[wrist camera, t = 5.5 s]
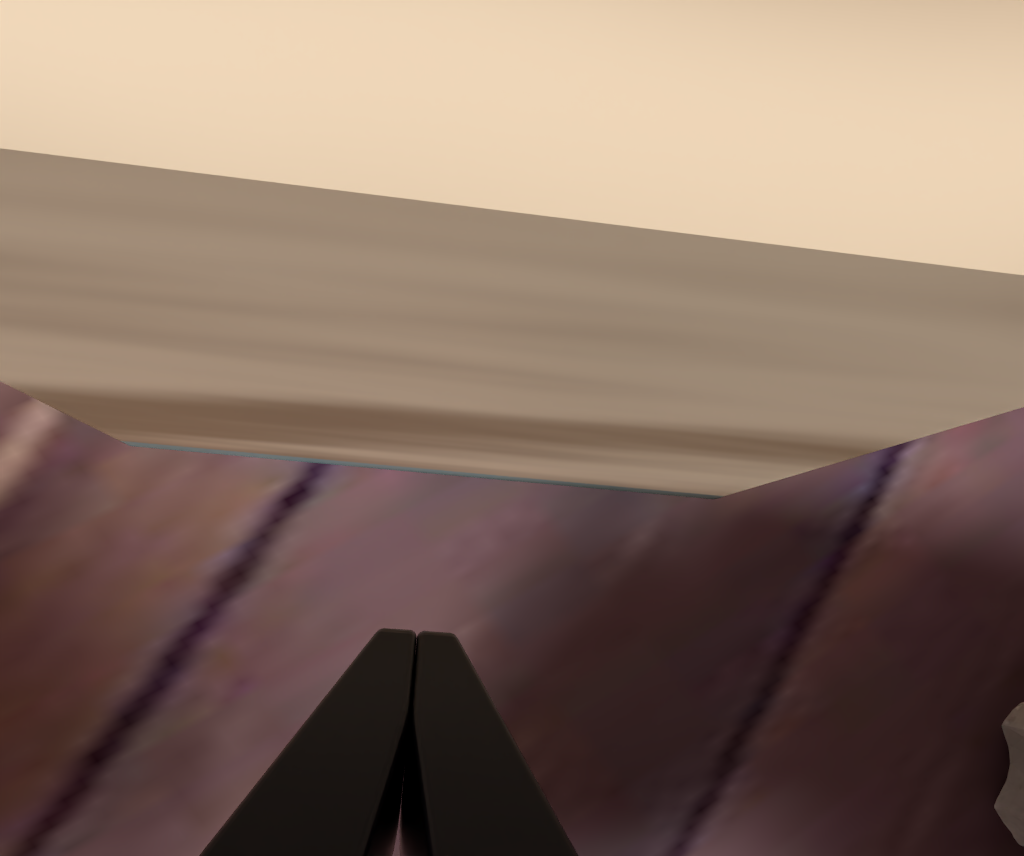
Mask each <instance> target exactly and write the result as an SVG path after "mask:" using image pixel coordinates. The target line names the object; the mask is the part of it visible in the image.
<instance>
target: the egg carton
mask: <svg viewBox="0 0 1024 856" xmlns="http://www.w3.org/2000/svg"><path fill="white" fill-rule="evenodd" d="M1001 727H1002V730H1003V733H1004V736H1005V739H1006V741H1007V744H1008V748H1009V756H1010V766H1009V771H1008V776H1007V780H1006V782H1005V784H1004V786H1003V788H1002V790H1001V792H1000V794H999V796H998V798H997V800H996V803H995V805H994V808H995V810H996V811H997V813H998V815H999V816H1000V818H1001V819H1002V821H1003V823H1004V824H1005V825H1006V826H1007V828H1008V829H1009V830H1010V831H1011V833H1012V835H1013V837H1014V839H1015V840H1016V841H1017V843H1018V844H1019V845H1021V846H1024V702H1022V703H1021V704H1019V705H1017V707H1016V708H1014V709H1013V710H1012V711H1011V712H1010V714H1009V715H1008V716H1007V718H1006V719H1005V720H1004V722H1003V724H1002V726H1001Z"/></svg>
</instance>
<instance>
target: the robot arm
mask: <svg viewBox="0 0 1024 856" xmlns="http://www.w3.org/2000/svg"><path fill="white" fill-rule="evenodd" d="M416 639H417V643H416ZM415 650H416V653H415ZM414 662H415V663H414ZM404 767H405V769H404ZM403 777H404V780H403ZM402 787H403V791H402ZM401 797H402V801H401ZM400 807H401V816H400V856H578V855H577V853H576V851H575V849H574V847H573V846H572V844H571V842H570V840H569V838H568V836H567V835H566V833H565V831H564V829H563V827H562V826H561V824H560V822H559V820H558V818H557V817H556V815H555V813H554V811H553V809H552V808H551V806H550V804H549V802H548V800H547V799H546V797H545V795H544V793H543V791H542V790H541V788H540V786H539V784H538V782H537V781H536V779H535V777H534V775H533V773H532V772H531V770H530V768H529V766H528V764H527V762H526V761H525V759H524V757H523V755H522V753H521V752H520V750H519V748H518V746H517V744H516V743H515V741H514V739H513V737H512V735H511V734H510V732H509V730H508V728H507V726H506V725H505V723H504V721H503V719H502V717H501V716H500V714H499V712H498V710H497V708H496V707H495V705H494V703H493V701H492V699H491V698H490V696H489V694H488V692H487V690H486V688H485V687H484V685H483V683H482V681H481V679H480V678H479V676H478V674H477V672H476V670H475V669H474V667H473V665H472V663H471V661H470V660H469V658H468V656H467V654H466V652H465V651H464V649H463V647H462V645H461V643H460V642H459V640H458V638H457V637H456V636H455V635H454V634H452V633H443V632H430V631H422V632H420V633H419V634H418V636H417V637H416V634H415V632H414V631H412V630H402V629H386V628H383V629H380V630H378V631H377V632H376V633H375V634H374V636H373V637H372V638H371V640H370V641H369V642H368V643H367V645H366V646H365V647H364V648H363V650H362V651H361V652H360V653H359V655H358V656H357V657H356V658H355V660H354V661H353V662H352V664H351V665H350V666H349V667H348V669H347V670H346V671H345V672H344V674H343V675H342V676H341V677H340V679H339V680H338V681H337V682H336V684H335V685H334V686H333V688H332V689H331V690H330V691H329V693H328V694H327V695H326V696H325V698H324V699H323V700H322V701H321V703H320V704H319V705H318V706H317V708H316V709H315V710H314V712H313V713H312V714H311V715H310V717H309V718H308V719H307V720H306V722H305V723H304V724H303V725H302V727H301V728H300V729H299V730H298V732H297V733H296V734H295V735H294V737H293V738H292V739H291V741H290V742H289V743H288V744H287V746H286V747H285V748H284V749H283V751H282V752H281V753H280V754H279V756H278V757H277V758H276V759H275V761H274V762H273V763H272V765H271V766H270V767H269V768H268V770H267V771H266V772H265V773H264V775H263V776H262V777H261V778H260V780H259V781H258V782H257V783H256V785H255V786H254V787H253V789H252V790H251V791H250V792H249V794H248V795H247V796H246V797H245V799H244V800H243V801H242V802H241V804H240V805H239V806H238V807H237V809H236V810H235V811H234V812H233V814H232V815H231V816H230V818H229V819H228V820H227V821H226V823H225V824H224V825H223V826H222V828H221V829H220V830H219V831H218V833H217V834H216V835H215V836H214V838H213V839H212V840H211V842H210V843H209V844H208V845H207V847H206V848H205V849H204V850H203V852H202V853H201V854H200V855H199V856H392V855H393V851H394V845H395V840H396V835H397V830H398V823H399V815H400Z"/></svg>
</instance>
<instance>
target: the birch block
mask: <svg viewBox="0 0 1024 856" xmlns="http://www.w3.org/2000/svg"><path fill="white" fill-rule="evenodd" d="M0 381H1V382H3V383H5V384H7V385H9V386H11V387H13V388H15V389H17V390H19V391H21V392H23V393H25V394H27V395H29V396H31V397H33V398H35V399H37V400H39V401H41V402H43V403H45V404H47V405H49V406H51V407H53V408H55V409H57V410H59V411H61V412H63V413H65V414H67V415H69V416H71V417H73V418H75V419H77V420H79V421H81V422H83V423H85V424H87V425H89V426H91V427H93V428H95V429H97V430H99V431H101V432H103V433H105V434H107V435H109V436H111V437H113V438H115V439H117V440H119V441H121V442H123V443H125V444H127V445H129V446H137V447H148V448H158V449H169V450H180V451H191V452H202V453H213V454H224V455H235V456H246V457H257V458H268V459H279V460H290V461H301V462H312V463H323V464H334V465H345V466H356V467H367V468H378V469H389V470H400V471H411V472H422V473H433V474H444V475H455V476H466V477H477V478H487V479H498V480H509V481H520V482H531V483H542V484H553V485H564V486H575V487H586V488H597V489H608V490H619V491H630V492H641V493H652V494H663V495H674V496H685V497H696V498H707V499H717V498H720V497H723V496H727V495H730V494H734V493H737V492H740V491H744V490H747V489H750V488H754V487H757V486H760V485H764V484H767V483H770V482H774V481H777V480H780V479H784V478H787V477H791V476H794V475H797V474H801V473H804V472H807V471H811V470H814V469H817V468H821V467H824V466H827V465H831V464H834V463H838V462H841V461H844V460H848V459H851V458H854V457H858V456H861V455H864V454H868V453H871V452H874V451H878V450H881V449H885V448H888V447H891V446H895V445H898V444H901V443H905V442H908V441H911V440H915V439H918V438H921V437H925V436H928V435H932V434H935V433H938V432H942V431H945V430H948V429H952V428H955V427H958V426H962V425H965V424H968V423H972V422H975V421H979V420H982V419H985V418H989V417H992V416H995V415H999V414H1002V413H1005V412H1009V411H1012V410H1015V409H1019V408H1022V407H1024V0H0Z"/></svg>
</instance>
